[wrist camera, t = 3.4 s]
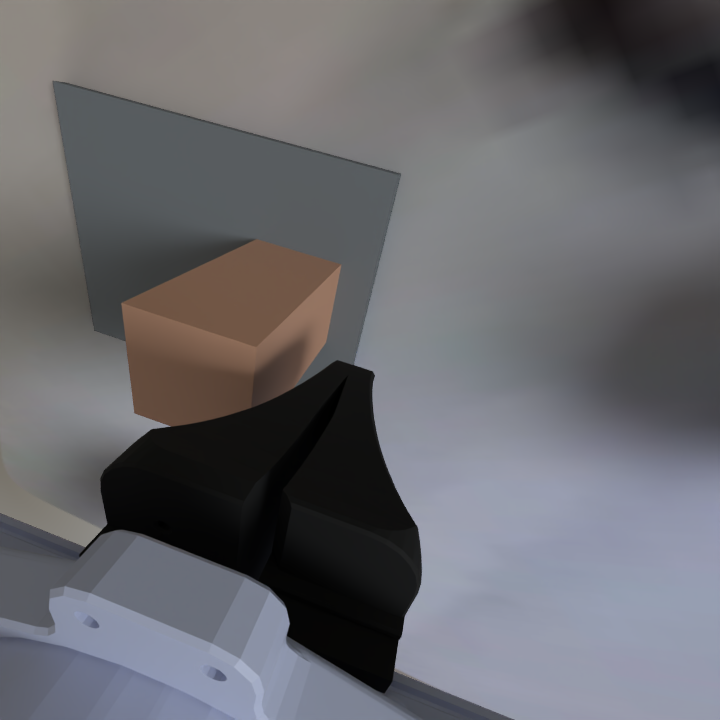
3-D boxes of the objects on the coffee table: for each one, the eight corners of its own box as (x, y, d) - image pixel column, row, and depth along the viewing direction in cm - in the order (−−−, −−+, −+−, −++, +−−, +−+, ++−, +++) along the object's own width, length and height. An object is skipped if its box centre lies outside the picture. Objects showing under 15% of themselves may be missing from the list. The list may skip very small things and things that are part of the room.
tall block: (326, 342, 19) (247, 453, 12) (250, 318, 20) (134, 413, 13) (341, 264, 17) (256, 347, 10) (256, 239, 17) (121, 302, 11)
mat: (342, 407, 22) (339, 413, 21) (102, 326, 23) (94, 330, 23) (401, 173, 15) (398, 175, 15) (65, 82, 17) (52, 80, 16)
